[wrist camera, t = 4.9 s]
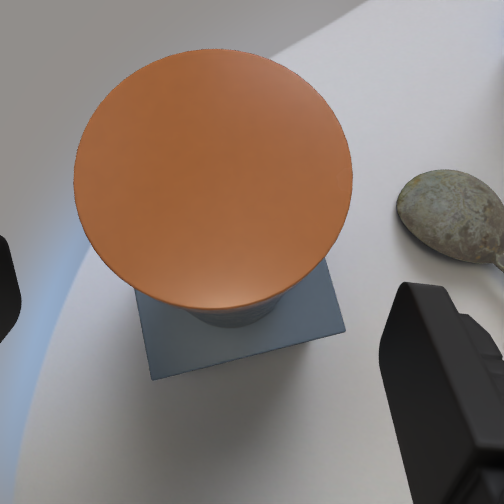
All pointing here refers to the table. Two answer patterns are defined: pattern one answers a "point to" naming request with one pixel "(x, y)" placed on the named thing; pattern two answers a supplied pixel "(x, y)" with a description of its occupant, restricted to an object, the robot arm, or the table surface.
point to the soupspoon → (455, 216)
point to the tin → (213, 183)
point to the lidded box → (237, 339)
